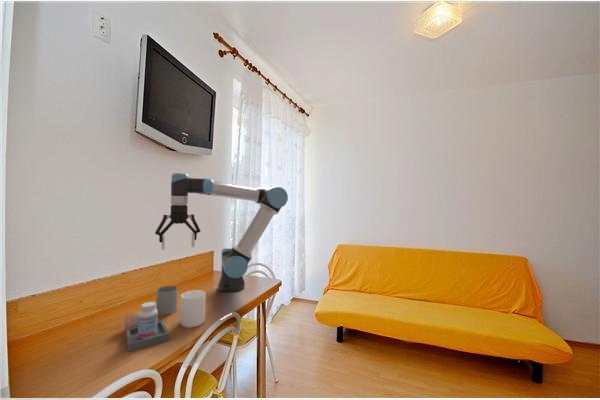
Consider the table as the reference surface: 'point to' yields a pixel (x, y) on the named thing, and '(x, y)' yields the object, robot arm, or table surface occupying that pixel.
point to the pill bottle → (147, 320)
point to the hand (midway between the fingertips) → (178, 247)
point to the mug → (192, 308)
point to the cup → (166, 300)
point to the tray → (138, 343)
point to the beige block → (131, 320)
